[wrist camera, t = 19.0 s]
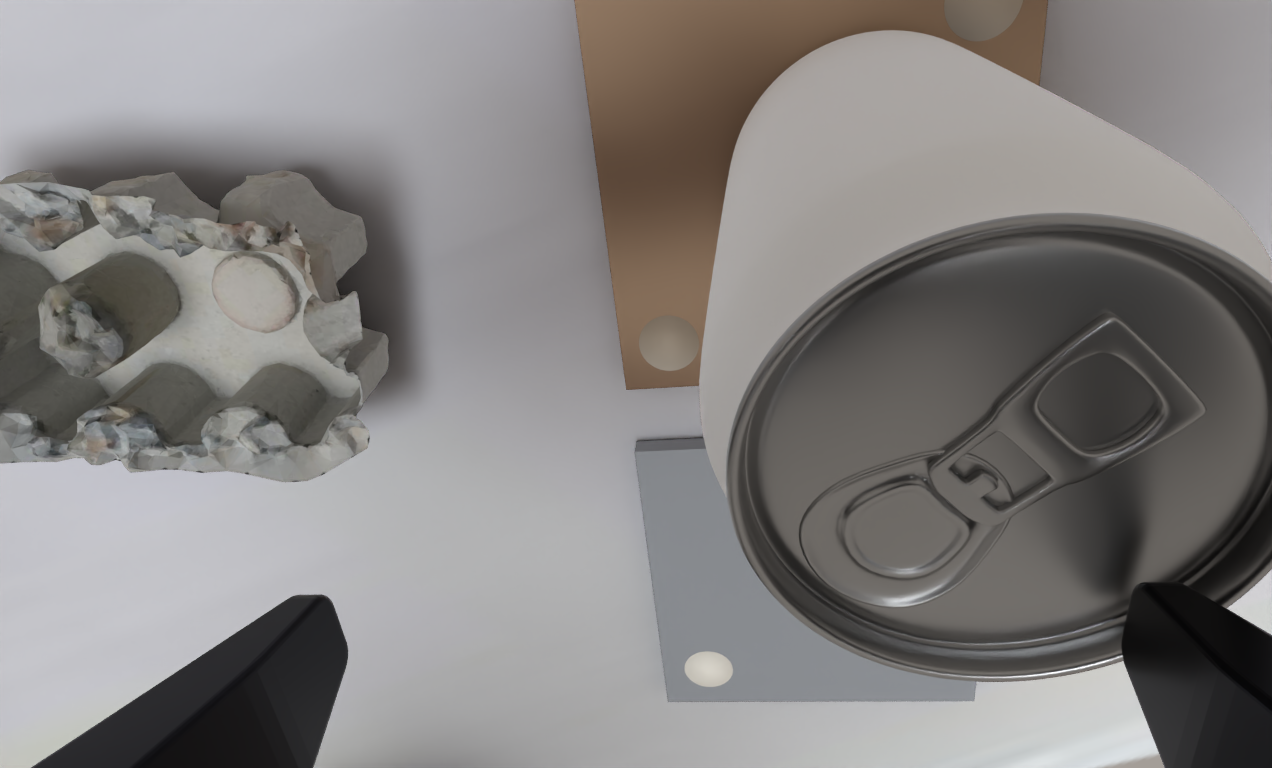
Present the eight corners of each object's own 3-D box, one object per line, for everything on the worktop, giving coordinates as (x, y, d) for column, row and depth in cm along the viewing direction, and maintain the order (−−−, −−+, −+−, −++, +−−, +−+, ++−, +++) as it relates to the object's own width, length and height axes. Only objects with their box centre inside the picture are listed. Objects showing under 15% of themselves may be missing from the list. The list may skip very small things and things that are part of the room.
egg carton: (372, 166, 19) (301, 219, 16) (408, 420, 23) (356, 509, 20) (-45, 144, 20) (-206, 192, 16) (58, 398, 23) (-54, 481, 20)
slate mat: (968, 686, 26) (974, 701, 25) (669, 687, 27) (667, 701, 27) (995, 423, 22) (1002, 435, 21) (636, 441, 23) (634, 452, 22)
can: (672, 189, 19) (562, 485, 9) (880, -45, 16) (1093, -24, 6) (859, 354, 20) (958, 779, 10) (1081, 167, 17) (1548, 496, 7)
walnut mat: (1002, 357, 21) (1009, 367, 20) (628, 380, 22) (626, 390, 21) (1045, -78, 16) (1056, -79, 16) (576, -16, 18) (572, -16, 17)
